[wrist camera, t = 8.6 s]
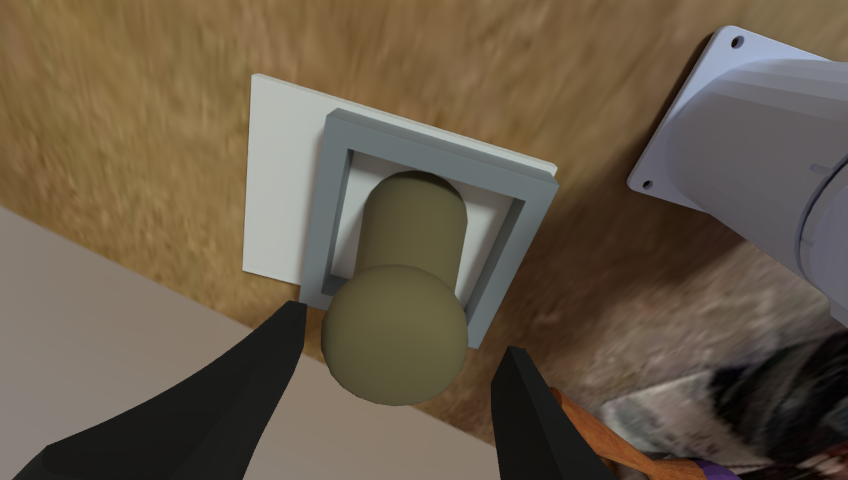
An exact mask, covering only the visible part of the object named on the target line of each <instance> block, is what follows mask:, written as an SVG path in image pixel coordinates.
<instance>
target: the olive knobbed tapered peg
mask: <svg viewBox="0 0 848 480" xmlns="http://www.w3.org/2000/svg"><path fill="white" fill-rule="evenodd" d="M467 224H468V217H467V209H466V205H465V203H464V201H463V199H462V197H461V195H460V193H459V192H458V191H457V190H456V189H455V188H454V187H453V186H452V185H451V184H450V183H449V182H448V181H447V180H445V179H443V178H441V177H439V176H437V175H435V174H433V173H429V172H423V171H417V170H411V171H404V172H398V173H395V174H393V175H391V176H389V177H387V178H385V179H383V180H381V181H380V182H379V183H378V184H377V186H376V187H375V188H374V189H373V190H372V191H371V192H370V194H369V196H368V199H367V201H366V203H365V205H364V211H363V218H362V224H361V230H360V236H359V243H358V249H357V255H356V262H355V268H354V274H353V277H352V278H351V279H350V280H349V281H348V282H346V283H345V284H344V285H343V286H342V287H341V288H340V289H339V290H338V291H337V292H336V293H335V295H334V297H333V299H332V301H331V303H330V305H329V307H328V310H327V312H326V314H325V316H324V318H323V320H322V331H321V350H322V353H323V356H324V358H325V361H326V363H327V366H328V368H329V370H330V373H331V375H332V376H333V377H334V378H335V379H336V380H337V382H338V383H339V384H340V385H341V386H342V387H343V388H345V389H346V390H348V391H349V392H351V393H352V394H354V395H355V396H357V397H359V398H362V399H365V400H368V401H370V402H373V403H376V404H383V405H390V406H402V405H403V406H404V405H414V404H418V403H421V402H424V401H428V400H431V399H432V398H434V397H435V396H437V395H439V394H440V393H442V392H443V391H445V389H446V388H447V387H448V386H449V385H450V383H451V382H452V381H453V380H454V378H455V377H456V376H457V375H458V373H459V372H460V371H461V369H462V365H463V362H464V358H465V355H466V351H467V347H468V343H469V340H468V330H467V323H466V316H465V312H464V310H463V308H462V306H461V304H460V302H459V300H458V299H457V297H456V295H455V289H456V283H457V278H458V272H459V267H460V262H461V256H462V251H463V246H464V240H465V235H466V229H467Z"/></svg>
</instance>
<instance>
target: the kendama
mask: <svg viewBox="0 0 848 480" xmlns="http://www.w3.org/2000/svg"><path fill="white" fill-rule="evenodd" d="M550 391H551V392H552V394H553V395H554V397H555V398H556V400H557V401H558V403H559V404H560V406H561V407H562V409H563V410H564V412H565V413H566V415H567V416H568V418H569V419H570V420H571V422H572V423H573V424H574V426H575V427H576V429H577V430H578V431H579V433H580V434H581V435H582V437H583V438H584V439H585V440H586V442H587V443H588V444H589V445H590V447H591V448H592V449H593V450H594V452H595V453H596V454H598V455H600V456H603V457H605V458H608V459H610V460H613V461H616V462H618V463H621V464H623V465H626V466H628V467H631V468H633V469H636V470H638V471H641V472H643V473H646V474H647V476H648V478H649V479H650V480H741V479H740V478H739V477H738V476H737V475H735V474H734V473H733V472H732V471H730V470H728V469H727V468H725V467H723V466H721V465H719V464H716V463H713V462H711V461H708V460H701V461H691V460H688V459H686V458H671V459H656V460H651V459H649V458H648V457H647V456H645V455H644V454H643V453H641V452H640V451H639V450H637V449H636V448H635V447H633V446H632V445H631V444H629V443H628V442H627V441H625V440H624V439H623V438H621V437H620V436H619V435H617V434H616V433H615V432H613V431H612V430H611V429H609V428H608V427H607V426H605V425H604V424H603V423H601V422H600V421H599V420H597V419H596V418H595V417H593V416H592V415H591V414H589V413H588V412H587V411H585V410H584V409H583V408H581V407H580V406H579V405H577V404H576V403H575V402H573V401H572V400H571V399H569V398H568V397H567V396H565V395H564V394H563V393H561V392H560V391H559V390H557V389H555V388H552V387H551V388H550Z"/></svg>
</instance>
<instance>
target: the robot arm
mask: <svg viewBox="0 0 848 480" xmlns="http://www.w3.org/2000/svg"><path fill="white" fill-rule="evenodd" d="M735 37H738V43H737V45H736V46H735V47H733V48H732V47H731V43H732V40H733V39H734V38H735ZM648 180H649V181H650V182H649V184H648V185H647V186H646V187H643V183H644V182H646V181H648ZM627 185H628V187H629V188H630V189H632V190H634V191H637V192H640V193H643V194H647V195H650V196H653V197H656V198H660V199H663V200H666V201H670V202H673V203H676V204H679V205H683V206H686V207H689V208H692V209H696V210H699V211H702V212H705V213H709V214H710V215H712V216H713V217H715V218H716V219H718V220H719V221H720V222H722V223H723V224H725V225H726V226H728V227H729V228H730V229H732V230H733V231H735V232H736V233H738V234H739V235H741V236H742V237H743V238H745V239H746V240H748V241H749V242H751V243H752V244H753V245H755V246H756V247H758V248H759V249H761V250H762V251H763V252H765V253H766V254H768V255H769V256H771V257H772V258H774V259H775V260H776V261H778V262H779V263H781V264H782V265H784V266H785V267H786V268H788V269H789V270H791V271H792V272H794V273H795V274H797V275H798V276H799V277H801V278H802V279H804V280H805V281H807V282H808V283H809V284H811V285H812V286H814V287H815V288H817V289H819V290H820V291H821V292H822V293H823V294H824V295H826V296H827V298H828V299H829V301H830V305H831V310H830V315H831V316H832V317H833V318H835V319H836V320H837V321H839V322H840V323H842V324H843V325H844V326H846V327H847V328H848V63H847V62H834V61H831V60H828V59H825V58H822V57H819V56H817V55H814V54H811V53H808V52H805V51H803V50H800V49H797V48H794V47H792V46H789V45H786V44H783V43H780V42H778V41H775V40H772V39H769V38H766V37H764V36H761V35H758V34H755V33H752V32H750V31H747V30H744V29H741V28H739V27H736V26H724V27H721V28H719V29H718V30H716V32H715V33H714V34H713V35H712V37H711V39H710V41H709V42H708V44H707V46H706V47H705V49H704V51H703V52H702V54H701V56H700V57H699V59H698V61H697V62H696V64H695V66H694V67H693V69H692V71H691V72H690V74H689V76H688V78H687V79H686V81H685V83H684V84H683V86H682V88H681V89H680V91H679V93H678V94H677V96H676V98H675V99H674V101H673V103H672V104H671V106H670V108H669V109H668V111H667V113H666V115H665V116H664V118H663V120H662V121H661V123H660V125H659V126H658V128H657V130H656V131H655V133H654V135H653V136H652V138H651V140H650V141H649V143H648V145H647V147H646V148H645V150H644V152H643V153H642V155H641V157H640V158H639V160H638V162H637V163H636V165H635V167H634V168H633V170H632V172H631V173H630V175H629V177H628V179H627ZM306 312H307V304H305V303H300V302H295V301H290V300H289V301H288V302H286V303H285V304H284V305H283V306H282V307H281V308H279V309H278V310H277V311H276V312H275V313H274V314H273V315H272V316H271V317H269V318H268V319H267V320H266V321H265V322H264V323H263V324H261V325H260V326H259V327H258V328H257V329H255V330H254V331H253V332H252V333H250V334H249V335H248V336H247V337H246V338H244V339H243V340H242V341H240V342H239V343H238V344H237V345H235V346H234V347H232V348H231V349H230V350H228V351H227V352H226V353H224V354H223V355H222V356H220V357H219V358H217V359H216V360H215V361H213V362H212V363H210V364H209V365H207V366H206V367H204V368H203V369H201V370H200V371H198V372H197V373H195V374H193V375H192V376H190V377H189V378H187V379H185V380H183V381H182V382H180V383H178V384H177V385H175V386H173V387H172V388H170V389H168V390H166V391H164V392H163V393H161V394H159V395H157V396H156V397H154V398H152V399H150V400H148V401H146V402H144V403H142V404H140V405H138V406H136V407H134V408H132V409H130V410H128V411H126V412H124V413H122V414H120V415H118V416H115V417H114V418H111V419H109V420H107V421H105V422H103V423H101V424H99V425H96V426H94V427H91V428H89V429H87V430H84V431H82V432H79V433H77V434H75V435H72V436H70V437H67V438H65V439H63V440H60V441H58V442H55V443H53V444H50V445H47V446H46V447H45V448H44V449H43V450H42V451H41V452H40V453H39V454H38V455H36V456H35V457H34V458H33V459H32V460H31V461H30V462H29V463H28V464H27V465H26V466H25V467H24V468H23V469H22V470H21V471H20V472H19V473H18V474H17V475H16V476H15V477H14V478H13V479H12V480H242V479H243V477H244V475H245V472H246V470H247V467H248V465H249V462H250V460H251V458H252V455H253V453H254V450H255V448H256V446H257V444H258V442H259V439H260V437H261V435H262V433H263V431H264V429H265V427H266V425H267V423H268V422H269V420H270V418H271V416H272V414H273V412H274V410H275V408H276V406H277V404H278V402H279V400H280V399H281V397H282V395H283V393H284V391H285V389H286V387H287V385H288V383H289V381H290V379H291V377H292V375H293V373H294V371H295V368H296V365H297V363H298V360H299V358H300V355H301V352H302V350H303V347H304V337H305V325H306ZM491 413H492V421H493V428H494V435H495V442H496V449H497V456H498V464H499V471H500V478H501V480H619V479H618V478H617V477H616V476H615V475H614V474H613V473H612V472H611V470H610V469H609V468H608V467H607V466H606V465H605V464H604V462H603V461H602V460H601V459H600V458H599V456H598V455H597V454H596V453H595V452H594V450H593V449H592V448H591V447H590V445H589V444H588V443H587V442H586V440H585V439H584V438H583V437H582V435H581V434H580V433H579V431H578V430H577V429H576V427H575V426H574V424H573V423H572V422H571V420H570V419H569V418H568V416H567V415H566V413H565V412H564V410H563V409H562V407H561V406H560V404H559V403H558V401H557V400H556V398H555V397H554V395H553V394H552V392H551V391H550V389H549V387H548V386H547V384H546V383H545V381H544V379H543V378H542V376H541V374H540V373H539V371H538V370H537V368H536V366H535V365H534V363H533V361H532V360H531V358H530V356H529V355H528V353H527V351H526V350H525V349H523V348H518V347H513V346H508V348H507V350H506V352H505V354H504V356H503V358H502V361H501V363H500V365H499V367H498V369H497V371H496V374H495V376H494V378H493V380H492V382H491Z"/></svg>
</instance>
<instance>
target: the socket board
mask: <svg viewBox="0 0 848 480" xmlns="http://www.w3.org/2000/svg"><path fill="white" fill-rule="evenodd" d="M557 169H558V168H557V167H556V166H555V164H553V163H550V162H547V161H544V160H540V159H537V158H534V157H530V156H527V155H524V154H521V153H517V152H514V151H511V150H508V149H504V148H501V147H498V146H495V145H491V144H488V143H485V142H482V141H478V140H475V139H472V138H469V137H465V136H462V135H459V134H455V133H452V132H449V131H446V130H442V129H439V128H436V127H433V126H429V125H426V124H423V123H420V122H416V121H413V120H410V119H407V118H403V117H400V116H397V115H394V114H390V113H387V112H384V111H380V110H377V109H374V108H371V107H367V106H364V105H361V104H358V103H354V102H351V101H348V100H345V99H341V98H338V97H335V96H332V95H328V94H325V93H322V92H319V91H315V90H312V89H309V88H305V87H302V86H299V85H296V84H292V83H289V82H286V81H283V80H279V79H276V78H273V77H270V76H266V75H263V74H260V73H258V74H254V75H252V82H251V103H250V124H249V145H248V166H247V187H246V207H245V228H244V249H243V271H247V272H251V273H255V274H259V275H262V276H266V277H270V278H274V279H278V280H282V281H286V282H289V283H293V284H297V285H301V289H300V296H299V302H300V303H305V304H307V306H310V307H314V308H318V309H322V310H326V311H327V310H328V307H329V305H330V303H331V301H332V299H333V297H334V295H335V293H336V292H337V291H338V290H339V289H340V288H341V287H342V286H343V285H344V284H345V283H346V282H348V281H349V280H350V279H351V278H352V277H353V274H354V268H355V262H356V255H357V249H358V243H359V236H360V230H361V224H362V218H363V211H364V205H365V203H366V201H367V199H368V196H369V194H370V192H371V191H372V190H373V189H374V188H375V187H376V186H377V184H378V183H379V182H380V181H381V180H383V179H385V178H387V177H389V176H391V175H393V174H395V173H398V172H404V171H411V170H417V171H423V172H429V173H433V174H435V175H437V176H439V177H441V178H443V179H445V180H447V181H448V182H449V183H450V184H451V185H452V186H453V187H454V188H455V189H456V190H457V191H458V192H459V193H460V195H461V197H462V199H463V201H464V203H465V205H466V209H467V217H468V224H467V229H466V235H465V240H464V246H463V251H462V256H461V262H460V267H459V272H458V278H457V283H456V289H455V295H456V297H457V299H458V300H459V302H460V304H461V306H462V308H463V310H464V312H465V316H466V323H467V330H468V340H469V343H468V347H471V348H475V349H478V348H479V346H480V344H481V342H482V340H483V338H484V336H485V334H486V332H487V330H488V328H489V326H490V324H491V322H492V320H493V318H494V316H495V314H496V312H497V310H498V308H499V306H500V304H501V302H502V300H503V298H504V296H505V294H506V292H507V290H508V288H509V286H510V284H511V282H512V280H513V278H514V276H515V274H516V272H517V270H518V268H519V266H520V264H521V262H522V260H523V258H524V256H525V254H526V252H527V250H528V248H529V246H530V244H531V242H532V240H533V238H534V236H535V234H536V232H537V230H538V228H539V226H540V224H541V222H542V220H543V218H544V216H545V214H546V212H547V210H548V208H549V206H550V204H551V202H552V200H553V198H554V196H555V194H556V192H557V190H558V188H559V186H560V185H559V184H558V183H557V181H556V180H555V178H554V175H555V173H556V171H557Z"/></svg>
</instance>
